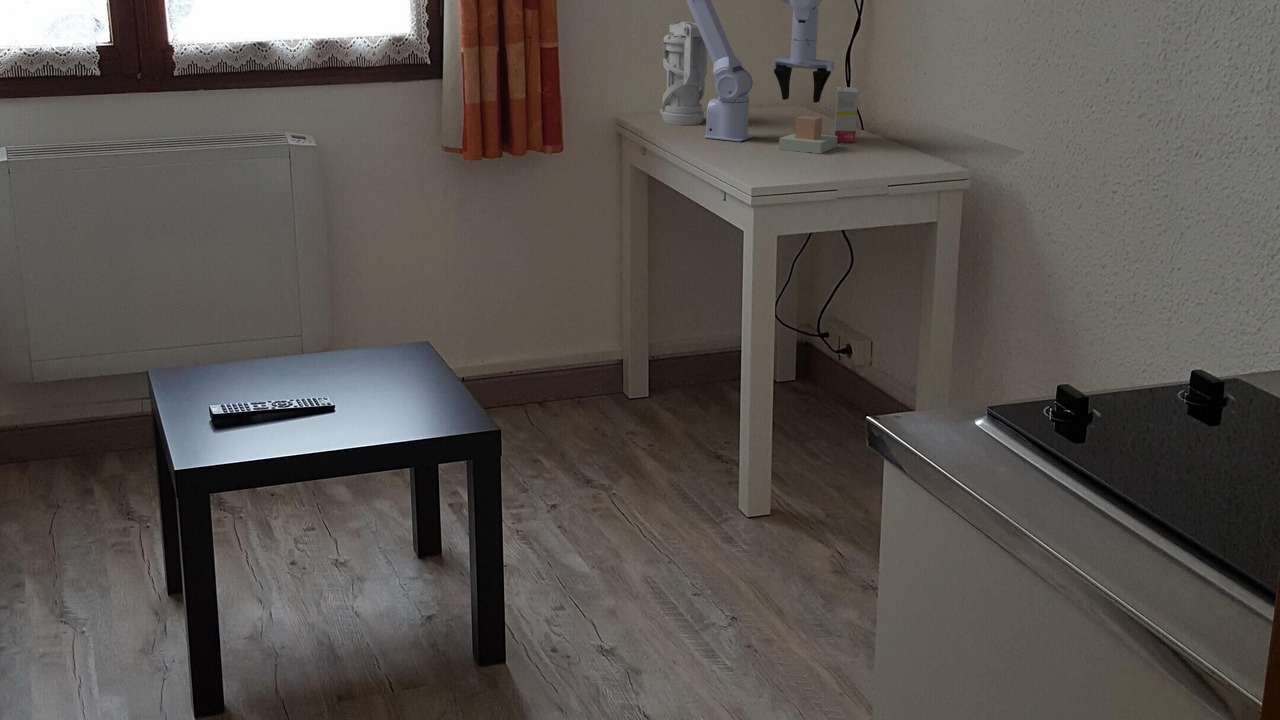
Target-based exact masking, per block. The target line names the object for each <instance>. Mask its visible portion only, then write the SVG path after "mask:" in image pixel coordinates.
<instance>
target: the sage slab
mask: <svg viewBox="0 0 1280 720" xmlns="http://www.w3.org/2000/svg"><path fill="white" fill-rule="evenodd" d="M834 147H836V148H838V142H837V136H834V135H830V134H821V137H820V138H817V139H815V140H809V139H800V138H795V132H793V133H790V134H787V135H785V136H783V137H779V139H778V150H782V151H789V152H790V151H792V152H798V151H800V153H807V152H812V153H811V154H816V153H821V154H823V153H822V152H824V153H826V152H828V151H827V150H829V149H831V150H833V149H835V148H834ZM832 148H833V149H832ZM825 151H826V152H825ZM829 151H830V150H829Z"/></svg>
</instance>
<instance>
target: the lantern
mask: <svg viewBox="0 0 1280 720" xmlns="http://www.w3.org/2000/svg"><path fill="white" fill-rule="evenodd" d="M668 30H669V33H668V34H666V35H665V36H664V37H663V52H662V53H663V54H662V55H663V58H662V59H663V60H662V61H663V62H662V66H663V68H664V70H665V71H666V90H665V91H664V93H663V94H662V97H661V98H662V105H661V108H660V109H659V114H660V115H662V119H663V120H662V121H663V123H665V124H668V125H675V126H696V125H701V124H702V123H703V121H704V120H703V119H704V115H705V113H704V112H705V111H703V109H702V106H703V104H701V103H700V102H701V100H702V99H703V97H704V95H705V89H706V88H705V84H706V83H705V79H706V76H707V75H708V72H707V71H708V50H707V48H706V45H705V43H704V41H703V39H702V36H701V34H700V32H699V29H698V27H697V25H696V22H695V20H693V21H678V22H674V23H670V24H669V29H668Z"/></svg>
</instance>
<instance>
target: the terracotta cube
mask: <svg viewBox="0 0 1280 720" xmlns="http://www.w3.org/2000/svg"><path fill="white" fill-rule="evenodd" d="M822 127H823V116H815V115H814V116H813V115H801V116H798V117H796V118H795V132H794V133H795V138H800V139H809V140H815V139H817V138H820V137H821V135H822V129H823V128H822Z"/></svg>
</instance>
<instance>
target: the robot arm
mask: <svg viewBox="0 0 1280 720" xmlns="http://www.w3.org/2000/svg"><path fill="white" fill-rule="evenodd" d="M685 1H686V3H687V6H688V8H689V11H690V13H691V15H692V17H693V19H694V20H693V21H695V22H696V25H697V27H698V29H699V32H700V34H701V36H702V39H703V41H704V43H705V45H706V48H707V53H708V54H709V57H710V58H711V61H712V64H713V69H712V75H713V78H714V80H715V87H714V88H715V91H716V94H717V95H718V97H717V98H711V99H710V100H709V102H708V104H707V108H706V120H705V125H706V126H705V135H704V136H703V137H704V139H712V140H713V139H715V140H721V141H722V140H723V141H732V142H743V141H746V140H750V139H751V138H754V137H755V134H749V114H750V113H749V112H750V111H749V109H750V97H749V96H748V94H749V93H750V92H751V90H752V88H753V85H754V83H753V81H754V80H753V77H752V74H751V73H750V72H749V71H748V70H747V69H745V67H744V66H743V64H742V62H741V60H740V59H739V58H738V57H737V56H736V55H735V53H734V52H733V49H732V46H731V44H730V42H729V40H728V38H727V37H728V36H727V35H726V32H725V30H724V27H723V26H722V23H721V21H720V19H719V16H718V14H717V11H716V9H715V7H714V4H713V2H712V0H685ZM780 1H781V2H783V3H785V4H787V5H790V7H791V8H792V9H793V10H792V19H791V20H792V21H791V38H790V39H791V42H790V57H783V56H782V57H780V56H775V57H771V67H775V68H774V69H773V73H774V75H775V76H776V79H777V82H778V84H779V88H780V92H781V93H780V94H781V98H782V99H781V100H783V101H786V100H789V98H790V83H791V75H792V71H793V68H794V69H807V70H814V71H813V72H812V76H813V97H812V98H813V99H812V102H813V103H819V102H820V100H821V97H822V93H823V90H824V87H825V85H826V83H827V81H828V79H829V77H830V76H831V74H832V72H833V71H835V61H834V60H833V61H832V60H831V61H830V60H824V59H818V58H817V44H818V43H817V42H818V28H819V27H818V26H819V25H818V24H819V19H818V18H819V8H818V7H819V6H820V5H821V2H822V0H780Z"/></svg>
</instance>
